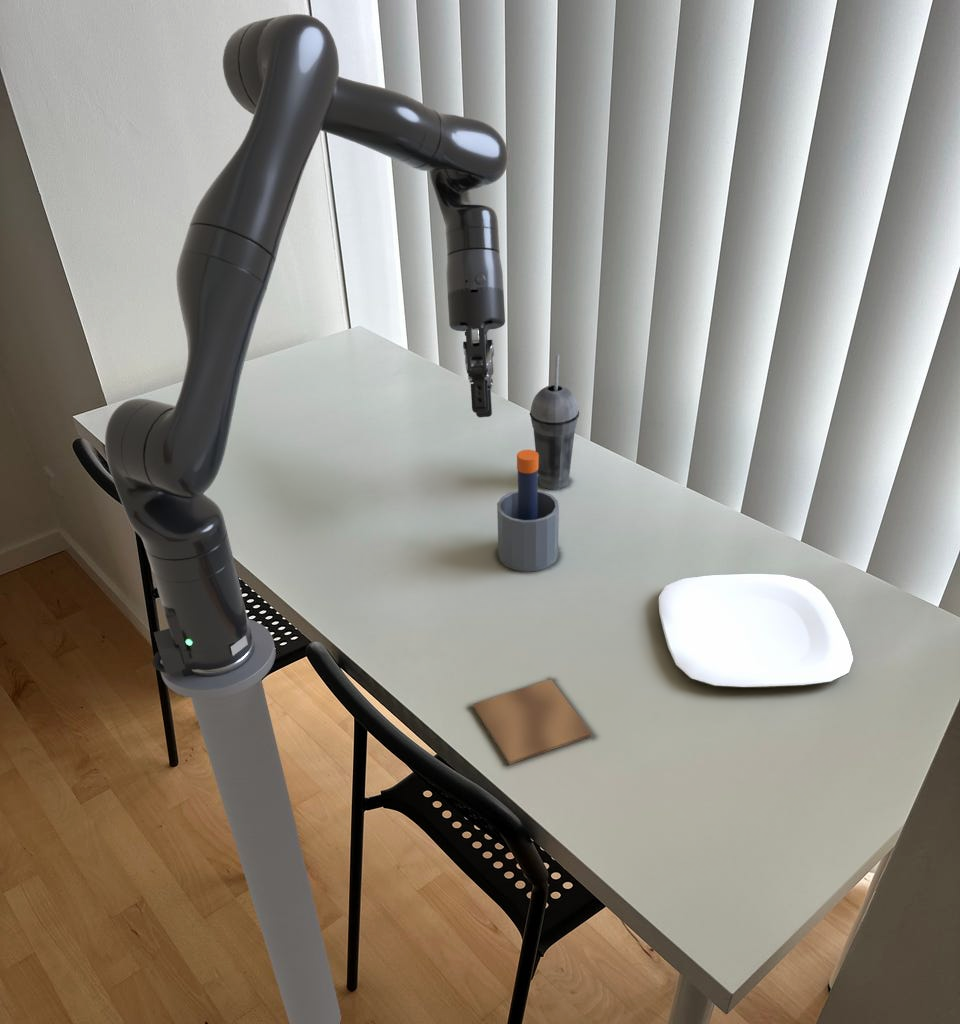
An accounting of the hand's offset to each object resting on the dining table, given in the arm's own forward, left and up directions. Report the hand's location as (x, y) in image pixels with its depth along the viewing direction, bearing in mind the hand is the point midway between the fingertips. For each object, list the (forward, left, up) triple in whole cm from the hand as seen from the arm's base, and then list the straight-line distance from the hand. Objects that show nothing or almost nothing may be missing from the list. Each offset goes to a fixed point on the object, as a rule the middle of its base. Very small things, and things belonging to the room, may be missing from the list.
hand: (482, 414), depth 133 cm
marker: (+1, -11, -16) cm, 20 cm away
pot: (+1, -11, -17) cm, 20 cm away
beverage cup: (+13, +5, -17) cm, 22 cm away
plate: (+18, -39, -17) cm, 46 cm away
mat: (-13, -41, -17) cm, 46 cm away
